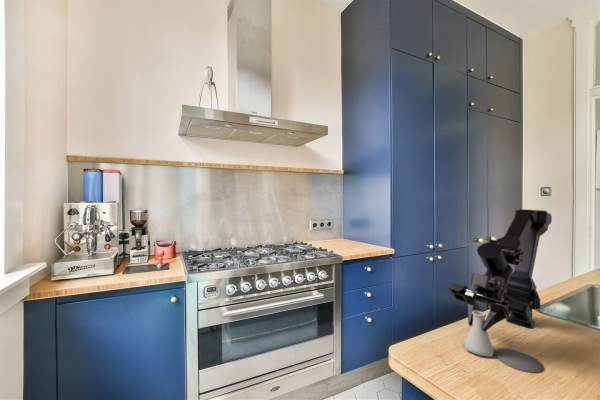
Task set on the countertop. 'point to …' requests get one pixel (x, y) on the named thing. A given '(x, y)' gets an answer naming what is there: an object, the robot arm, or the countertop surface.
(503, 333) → the countertop surface
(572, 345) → the countertop surface
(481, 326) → the flask
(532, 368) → the rubber mat
